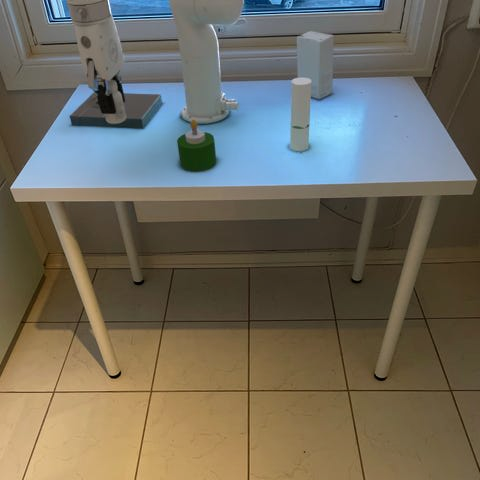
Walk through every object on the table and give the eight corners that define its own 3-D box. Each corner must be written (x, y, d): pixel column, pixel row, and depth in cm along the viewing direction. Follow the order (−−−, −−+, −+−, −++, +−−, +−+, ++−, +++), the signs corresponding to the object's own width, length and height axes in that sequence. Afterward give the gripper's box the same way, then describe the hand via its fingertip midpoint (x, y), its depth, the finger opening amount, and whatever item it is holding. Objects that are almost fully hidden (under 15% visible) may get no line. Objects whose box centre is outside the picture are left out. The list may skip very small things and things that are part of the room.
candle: (180, 155, 122) (174, 113, 115) (215, 152, 123) (211, 110, 116) (180, 172, 116) (173, 129, 109) (216, 169, 117) (213, 126, 110)
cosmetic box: (332, 93, 144) (336, 35, 133) (318, 100, 141) (321, 41, 130) (309, 86, 148) (311, 29, 138) (295, 93, 145) (296, 34, 135)
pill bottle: (129, 114, 113) (120, 78, 107) (123, 124, 110) (115, 86, 104) (109, 115, 113) (100, 78, 108) (103, 124, 110) (94, 87, 105)
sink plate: (162, 103, 145) (160, 94, 143) (143, 128, 134) (141, 119, 132) (95, 101, 149) (93, 92, 147) (71, 125, 138) (69, 116, 136)
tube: (287, 145, 123) (287, 79, 113) (303, 141, 124) (305, 76, 114) (295, 152, 120) (297, 86, 110) (311, 148, 122) (315, 82, 111)
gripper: (91, 25, 90) (115, 126, 103) (125, -3, 102) (143, 91, 115) (51, 25, 92) (81, 125, 105) (89, -3, 103) (111, 90, 116)
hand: (113, 106), depth 109 cm, fingers closed on pill bottle, 4 cm apart
